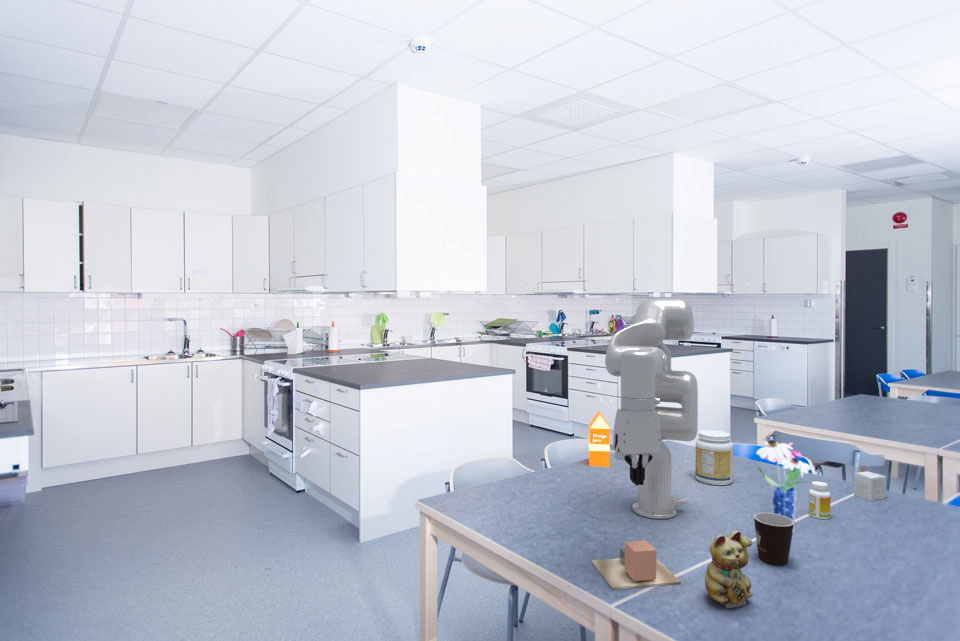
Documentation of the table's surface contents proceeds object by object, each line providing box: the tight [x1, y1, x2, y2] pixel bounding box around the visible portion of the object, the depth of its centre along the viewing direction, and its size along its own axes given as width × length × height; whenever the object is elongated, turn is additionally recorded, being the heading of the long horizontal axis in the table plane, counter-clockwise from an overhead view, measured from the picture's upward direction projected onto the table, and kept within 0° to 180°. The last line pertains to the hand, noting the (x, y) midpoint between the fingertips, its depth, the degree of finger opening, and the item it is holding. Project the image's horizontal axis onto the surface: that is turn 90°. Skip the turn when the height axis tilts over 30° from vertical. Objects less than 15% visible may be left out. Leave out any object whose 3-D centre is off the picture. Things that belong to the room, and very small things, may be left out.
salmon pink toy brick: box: [624, 540, 657, 581], centre depth 126 cm, size 5×5×7 cm
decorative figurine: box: [704, 530, 754, 609], centre depth 118 cm, size 10×8×15 cm
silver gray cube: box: [619, 547, 625, 566], centre depth 133 cm, size 3×3×3 cm
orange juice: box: [588, 410, 611, 468], centre depth 218 cm, size 8×9×20 cm
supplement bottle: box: [808, 480, 832, 520], centre depth 163 cm, size 5×5×10 cm
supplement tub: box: [695, 429, 734, 486], centre depth 196 cm, size 12×12×17 cm
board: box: [591, 557, 682, 590], centre depth 130 cm, size 16×13×1 cm
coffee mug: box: [753, 512, 795, 567], centre depth 137 cm, size 12×9×10 cm
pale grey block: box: [853, 470, 886, 502], centre depth 180 cm, size 6×6×7 cm
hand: (637, 483), depth 128 cm, fingers closed
